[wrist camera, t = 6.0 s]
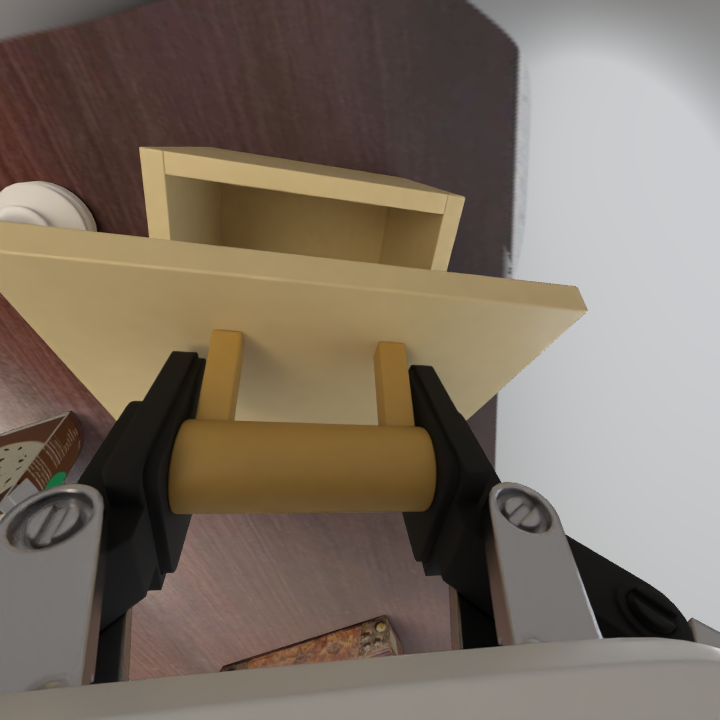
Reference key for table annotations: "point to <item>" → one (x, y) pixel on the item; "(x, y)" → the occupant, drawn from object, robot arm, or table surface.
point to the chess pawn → (44, 206)
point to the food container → (37, 457)
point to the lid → (280, 357)
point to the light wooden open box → (296, 207)
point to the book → (331, 647)
